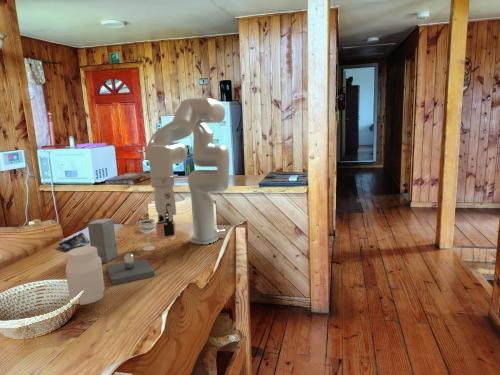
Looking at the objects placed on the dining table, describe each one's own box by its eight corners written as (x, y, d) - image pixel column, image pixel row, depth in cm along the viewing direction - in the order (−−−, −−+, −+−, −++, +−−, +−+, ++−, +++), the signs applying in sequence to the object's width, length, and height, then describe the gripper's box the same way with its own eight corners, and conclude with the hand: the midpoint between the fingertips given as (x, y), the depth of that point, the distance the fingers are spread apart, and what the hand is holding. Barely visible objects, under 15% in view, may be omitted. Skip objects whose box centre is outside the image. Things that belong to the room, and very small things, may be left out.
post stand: (145, 262, 145) (144, 245, 143) (154, 276, 132) (153, 257, 131) (106, 270, 138) (104, 252, 137) (112, 285, 126) (110, 265, 125)
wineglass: (137, 250, 159) (134, 222, 157) (147, 244, 165) (145, 218, 163) (150, 251, 157) (148, 223, 154) (160, 246, 163) (158, 219, 160)
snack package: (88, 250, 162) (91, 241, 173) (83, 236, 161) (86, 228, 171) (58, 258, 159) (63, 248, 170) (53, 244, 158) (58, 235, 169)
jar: (103, 301, 115) (97, 254, 112) (68, 307, 112) (62, 259, 109) (105, 285, 126) (100, 242, 123) (73, 290, 123) (68, 246, 120)
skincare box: (107, 263, 145) (103, 223, 142) (90, 262, 147) (86, 223, 144) (119, 255, 153) (115, 217, 151) (103, 254, 155) (99, 217, 152)
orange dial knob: (173, 231, 136) (172, 217, 135) (178, 236, 130) (177, 222, 129) (155, 234, 133) (154, 220, 132) (159, 239, 127) (158, 225, 126)
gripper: (181, 184, 122) (184, 237, 125) (166, 177, 137) (170, 224, 140) (158, 187, 118) (162, 241, 122) (145, 179, 134) (149, 228, 137)
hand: (166, 232), depth 131 cm, fingers closed on orange dial knob, 6 cm apart
